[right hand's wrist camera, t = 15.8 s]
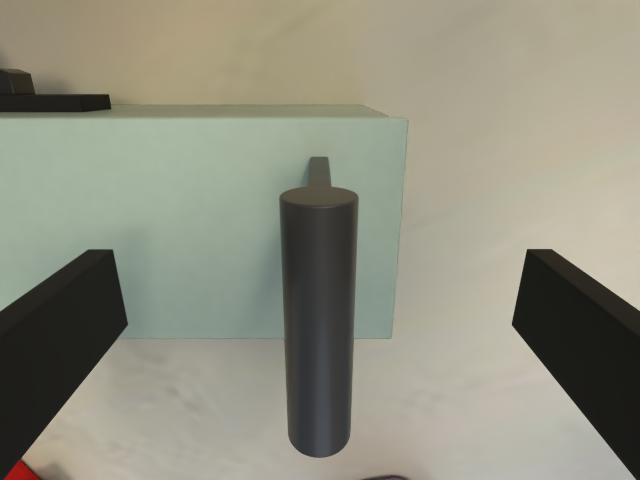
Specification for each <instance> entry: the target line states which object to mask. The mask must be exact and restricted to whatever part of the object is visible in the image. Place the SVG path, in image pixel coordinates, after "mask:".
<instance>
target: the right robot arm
mask: <svg viewBox="0 0 640 480" xmlns="http://www.w3.org/2000/svg"><path fill="white" fill-rule="evenodd" d="M127 326H128V321H127V316H126V311H125V306H124V301H123V296H122V291H121V286H120V282H119V277H118V272H117V267H116V262H115V257H114V252H113V249H88V250H87V251H85V252H84V253H82V254H81V255H79V256H78V257H77V258H75V259H74V260H72V261H71V262H70V263H68V264H67V265H65V266H64V267H62V268H61V269H60V270H58V271H57V272H55V273H54V274H52V275H51V276H50V277H48V278H47V279H45V280H44V281H42V282H41V283H40V284H38V285H37V286H35V287H34V288H33V289H31V290H30V291H28V292H27V293H25V294H24V295H23V296H21V297H20V298H18V299H17V300H15V301H14V302H13V303H11V304H10V305H8V306H7V307H5V308H4V309H3V310H1V311H0V480H4V479H5V477H6V476H7V475H8V474H9V472H10V471H11V470H12V469H13V468H14V466H15V465H16V464H17V463H18V461H19V460H20V459H21V458H22V456H23V455H24V454H25V453H26V451H27V450H28V449H29V448H30V446H31V445H32V444H33V443H34V441H35V440H36V439H37V438H38V436H39V435H40V434H41V433H42V431H43V430H44V429H45V428H46V427H47V425H48V424H49V423H50V422H51V420H52V419H53V418H54V417H55V415H56V414H57V413H58V412H59V410H60V409H61V408H62V407H63V405H64V404H65V403H66V402H67V400H68V399H69V398H70V397H71V395H72V394H73V393H74V392H75V390H76V389H77V388H78V387H79V385H80V384H81V383H82V382H83V381H84V379H85V378H86V377H87V376H88V374H89V373H90V372H91V371H92V369H93V368H94V367H95V366H96V364H97V363H98V362H99V361H100V359H101V358H102V357H103V356H104V354H105V353H106V352H107V351H108V349H109V348H110V347H111V346H112V344H113V343H114V342H115V341H116V339H117V338H118V337H119V336H120V335H121V333H122V332H123V331H124V330H125V328H126V327H127ZM512 326H513V327H514V328H515V330H516V331H517V332H518V333H519V334H520V336H521V337H522V338H523V339H524V341H525V342H526V343H527V344H528V346H529V347H530V348H531V349H532V351H533V352H534V353H535V354H536V356H537V357H538V358H539V359H540V361H541V362H542V363H543V364H544V366H545V367H546V368H547V369H548V371H549V372H550V373H551V374H552V376H553V377H554V378H555V379H556V380H557V382H558V383H559V384H560V385H561V387H562V388H563V389H564V390H565V392H566V393H567V394H568V395H569V397H570V398H571V399H572V400H573V402H574V403H575V404H576V405H577V407H578V408H579V409H580V410H581V412H582V413H583V414H584V415H585V417H586V418H587V419H588V420H589V422H590V423H591V424H592V425H593V426H594V428H595V429H596V430H597V431H598V433H599V434H600V435H601V436H602V438H603V439H604V440H605V441H606V443H607V444H608V445H609V446H610V448H611V449H612V450H613V451H614V453H615V454H616V455H617V456H618V458H619V459H620V460H621V461H622V463H623V464H624V465H625V466H626V468H627V469H628V470H629V471H630V472H631V474H632V475H633V476H634V477H635V479H636V480H640V311H639V310H637V309H636V308H635V307H633V306H632V305H630V304H629V303H627V302H626V301H625V300H623V299H622V298H620V297H619V296H617V295H616V294H615V293H613V292H612V291H610V290H609V289H608V288H606V287H605V286H603V285H602V284H600V283H599V282H598V281H596V280H595V279H593V278H592V277H590V276H589V275H588V274H586V273H585V272H583V271H582V270H580V269H579V268H578V267H576V266H575V265H573V264H572V263H571V262H569V261H568V260H566V259H565V258H563V257H562V256H561V255H559V254H558V253H556V252H555V251H553V250H552V249H527V252H526V257H525V262H524V267H523V272H522V277H521V282H520V287H519V291H518V296H517V301H516V306H515V311H514V316H513V321H512Z"/></svg>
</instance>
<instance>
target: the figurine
mask: <svg viewBox="0 0 640 480" xmlns="http://www.w3.org/2000/svg"><path fill="white" fill-rule="evenodd" d="M379 480H403V479H401V478H396V477H393V478H388V479H379Z"/></svg>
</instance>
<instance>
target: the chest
mask: <svg viewBox="0 0 640 480" xmlns="http://www.w3.org/2000/svg"><path fill="white" fill-rule="evenodd" d="M0 117H389V116H387V115H385V114H382V113H380V112H378V111H376V110H373V109H371V108H369V107H366V106H364V105H111V109H108V110H99V111H90V112H0Z"/></svg>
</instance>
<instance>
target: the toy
mask: <svg viewBox="0 0 640 480" xmlns="http://www.w3.org/2000/svg"><path fill="white" fill-rule="evenodd" d="M4 480H40V479H39V478H38V477H37V476H36V475H35V474H34V473H33V472H32V471H30V470H29V469H28V468H27V467H26V466H25V465H24V464H23V463H22V462H21V461H20V460H19V461H18V463H17V464H16V465H15V466H14V468H13V469H12V470H11V471H10V472H9V474H8V475H7V476H6V477H5V479H4Z"/></svg>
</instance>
